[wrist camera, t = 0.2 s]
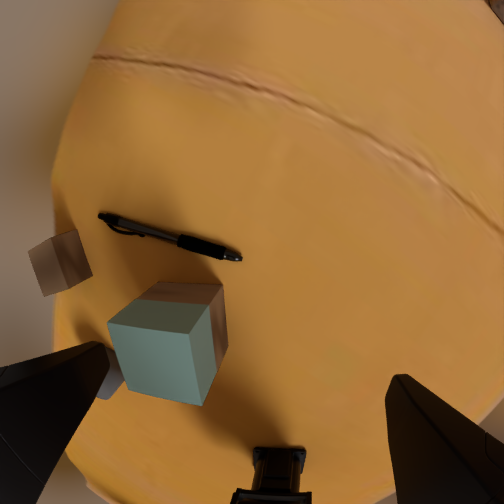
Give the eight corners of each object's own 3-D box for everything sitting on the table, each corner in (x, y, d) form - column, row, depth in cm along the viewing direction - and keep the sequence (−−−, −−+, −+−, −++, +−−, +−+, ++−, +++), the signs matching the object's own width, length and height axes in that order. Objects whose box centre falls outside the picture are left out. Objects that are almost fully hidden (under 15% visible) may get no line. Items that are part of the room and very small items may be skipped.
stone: (132, 383, 28) (117, 404, 24) (101, 375, 29) (85, 392, 25) (121, 350, 26) (102, 370, 23) (90, 342, 27) (70, 359, 23)
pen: (103, 223, 24) (96, 228, 23) (102, 207, 23) (94, 212, 22) (241, 266, 22) (237, 274, 21) (245, 249, 21) (241, 257, 20)
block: (93, 275, 25) (68, 289, 21) (67, 283, 26) (44, 296, 22) (77, 229, 24) (50, 237, 20) (52, 242, 25) (27, 251, 21)
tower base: (228, 345, 24) (217, 371, 20) (168, 339, 25) (150, 362, 21) (223, 283, 22) (209, 304, 19) (158, 281, 23) (136, 299, 20)
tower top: (216, 371, 20) (202, 405, 16) (150, 361, 21) (128, 390, 17) (208, 304, 19) (188, 334, 15) (135, 298, 20) (106, 322, 16)
